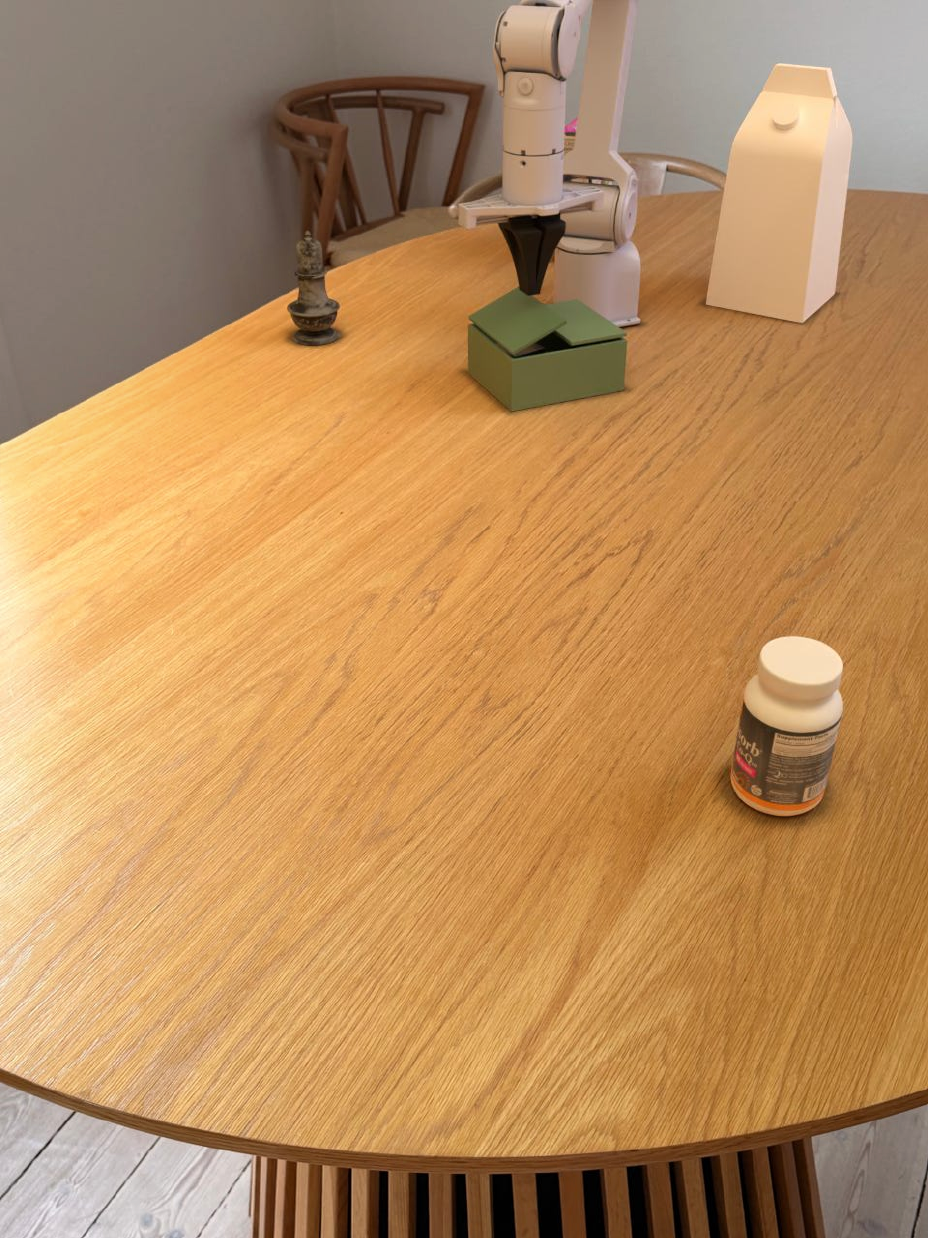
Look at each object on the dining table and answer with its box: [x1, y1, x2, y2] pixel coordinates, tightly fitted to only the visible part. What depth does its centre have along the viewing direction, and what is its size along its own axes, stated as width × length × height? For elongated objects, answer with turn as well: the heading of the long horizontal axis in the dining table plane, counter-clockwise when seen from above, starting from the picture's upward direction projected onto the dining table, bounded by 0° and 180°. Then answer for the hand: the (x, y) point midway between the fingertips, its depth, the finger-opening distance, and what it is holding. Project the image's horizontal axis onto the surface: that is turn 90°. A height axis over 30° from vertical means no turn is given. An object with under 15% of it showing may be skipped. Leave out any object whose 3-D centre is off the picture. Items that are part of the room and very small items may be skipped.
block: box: [495, 343, 545, 359], centre depth 124 cm, size 4×4×4 cm
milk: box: [705, 62, 854, 324], centre depth 139 cm, size 12×12×26 cm
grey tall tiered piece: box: [286, 230, 341, 347], centre depth 134 cm, size 6×6×12 cm
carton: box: [467, 299, 628, 412], centre depth 125 cm, size 13×11×6 cm
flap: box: [467, 285, 567, 355], centre depth 122 cm, size 6×11×1 cm, turn 23°
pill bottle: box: [730, 635, 844, 817], centre depth 72 cm, size 6×6×10 cm
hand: (529, 291), depth 121 cm, fingers closed
